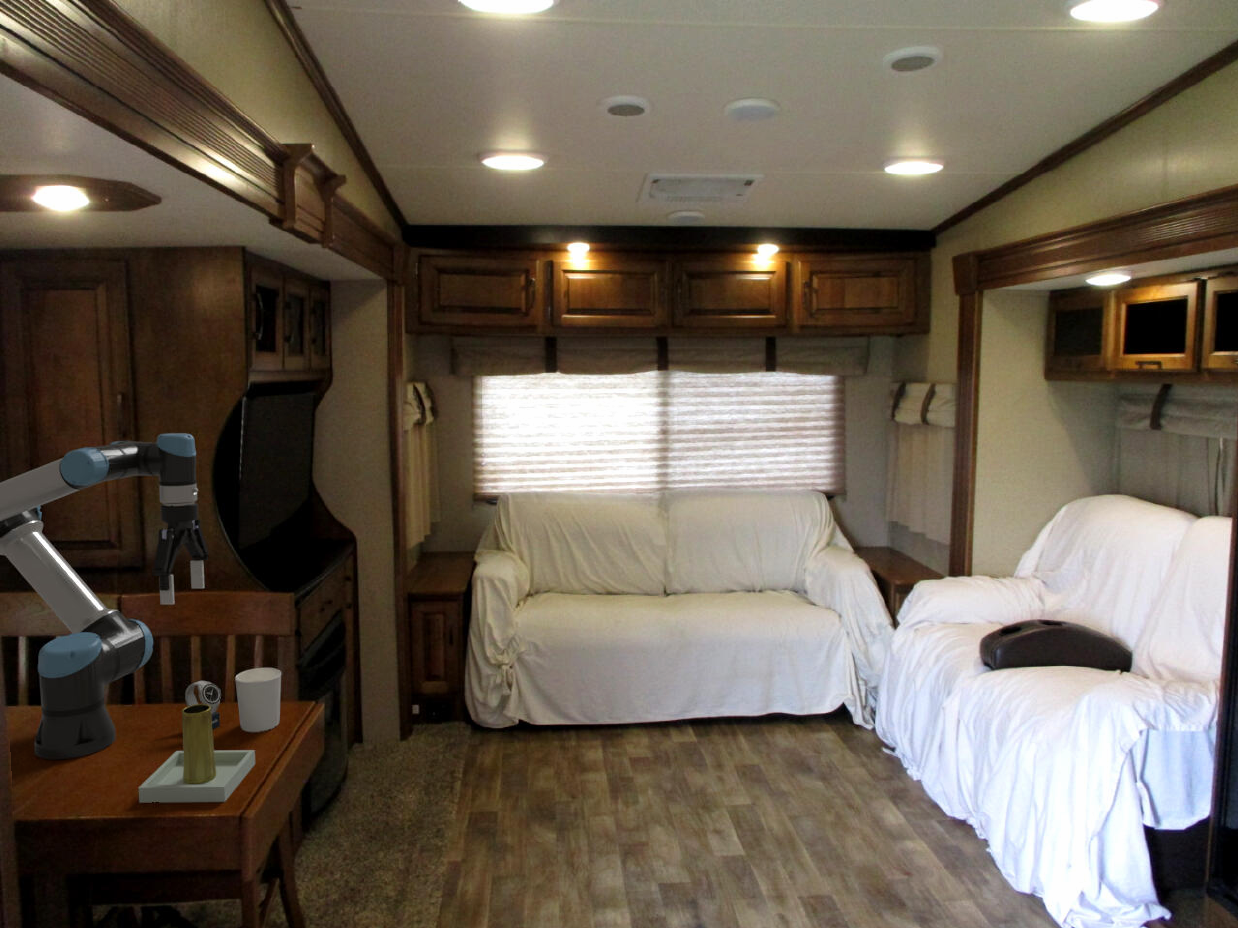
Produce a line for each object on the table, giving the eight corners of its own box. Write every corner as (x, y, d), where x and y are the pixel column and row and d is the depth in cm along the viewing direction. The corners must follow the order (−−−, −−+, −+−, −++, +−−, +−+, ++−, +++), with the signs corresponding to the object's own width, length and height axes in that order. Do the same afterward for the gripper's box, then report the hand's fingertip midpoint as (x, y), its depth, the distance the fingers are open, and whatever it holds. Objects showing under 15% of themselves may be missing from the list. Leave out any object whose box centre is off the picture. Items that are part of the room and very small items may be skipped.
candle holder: (252, 714, 211) (251, 666, 210) (291, 718, 209) (289, 669, 208) (228, 731, 202) (225, 680, 200) (267, 735, 200) (266, 683, 198)
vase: (203, 785, 174) (200, 715, 172) (175, 782, 175) (172, 713, 174) (223, 771, 180) (220, 704, 178) (196, 768, 181) (192, 701, 180)
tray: (139, 802, 169) (138, 787, 169) (177, 764, 185) (176, 750, 185) (224, 801, 170) (224, 786, 170) (255, 763, 186) (254, 749, 186)
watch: (207, 736, 199) (205, 689, 198) (180, 730, 202) (177, 684, 200) (226, 726, 204) (224, 680, 203) (199, 721, 207) (197, 675, 206)
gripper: (166, 512, 186) (171, 611, 188) (221, 494, 211) (225, 582, 213) (130, 512, 186) (136, 611, 188) (190, 494, 211) (194, 581, 213)
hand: (183, 595), depth 201 cm, fingers open, 13 cm apart
